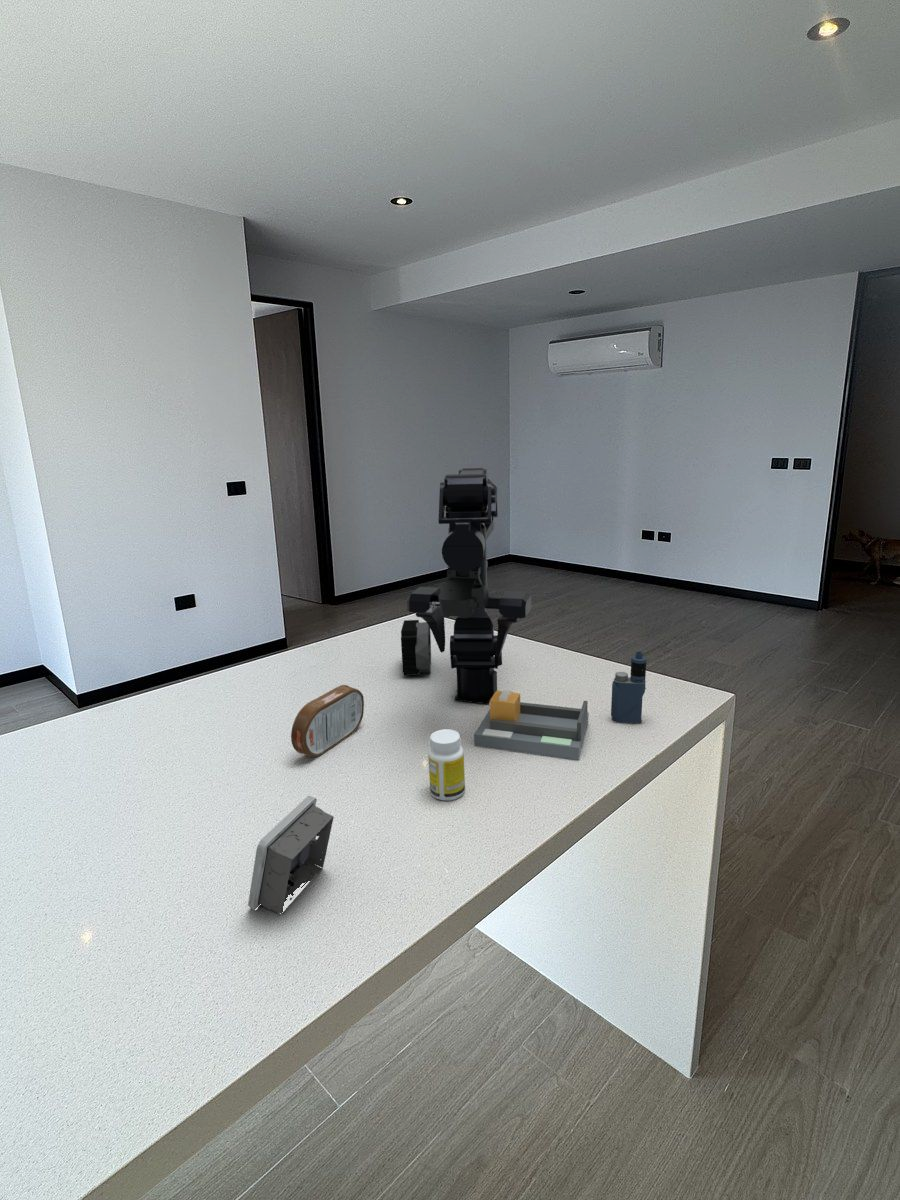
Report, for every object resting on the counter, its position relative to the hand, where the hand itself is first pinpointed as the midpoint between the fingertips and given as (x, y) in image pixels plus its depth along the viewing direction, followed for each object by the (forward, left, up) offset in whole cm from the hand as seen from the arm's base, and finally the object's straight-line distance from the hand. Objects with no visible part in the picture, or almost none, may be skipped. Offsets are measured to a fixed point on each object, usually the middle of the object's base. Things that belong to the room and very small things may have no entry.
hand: (470, 653), depth 100 cm
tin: (-20, -11, -13) cm, 26 cm away
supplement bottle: (+2, -19, -13) cm, 23 cm away
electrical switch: (-8, -41, -13) cm, 44 cm away
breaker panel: (+10, 0, -13) cm, 16 cm away
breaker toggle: (+6, 0, -11) cm, 12 cm away
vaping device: (+24, +9, -13) cm, 29 cm away
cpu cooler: (-18, +21, -13) cm, 31 cm away
